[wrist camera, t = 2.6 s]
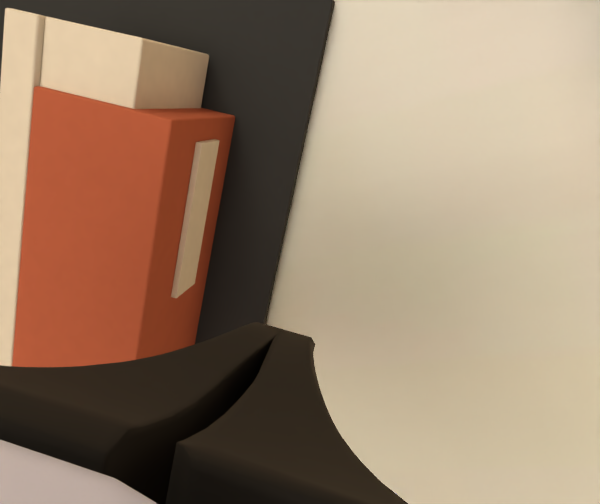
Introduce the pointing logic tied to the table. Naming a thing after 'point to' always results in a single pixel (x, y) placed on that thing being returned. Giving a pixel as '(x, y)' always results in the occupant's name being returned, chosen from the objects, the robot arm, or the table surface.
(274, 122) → the mat
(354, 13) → the table surface
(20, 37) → the book in orange sleeve
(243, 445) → the robot arm
